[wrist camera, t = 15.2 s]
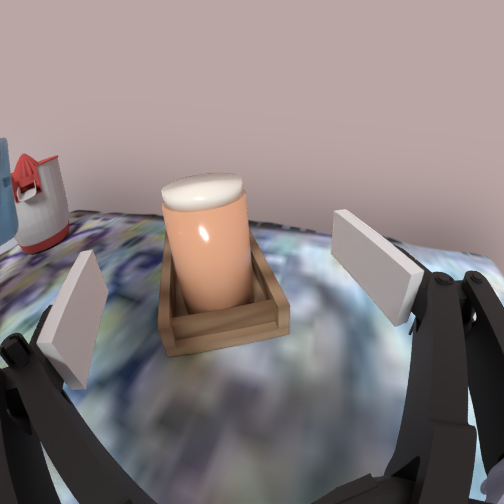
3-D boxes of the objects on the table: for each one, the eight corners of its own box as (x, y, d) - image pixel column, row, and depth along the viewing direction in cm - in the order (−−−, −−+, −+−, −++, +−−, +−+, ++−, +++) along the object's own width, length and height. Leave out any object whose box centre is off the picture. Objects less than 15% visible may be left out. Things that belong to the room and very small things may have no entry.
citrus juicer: (15, 272, 38) (-19, 171, 28) (20, 243, 50) (-2, 165, 40) (82, 242, 46) (56, 139, 36) (73, 220, 58) (55, 141, 48)
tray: (289, 333, 25) (290, 269, 21) (168, 357, 23) (144, 295, 19) (242, 233, 43) (238, 189, 40) (171, 245, 42) (162, 202, 38)
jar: (173, 316, 26) (141, 197, 20) (203, 277, 32) (185, 173, 26) (241, 331, 24) (224, 197, 18) (262, 284, 30) (255, 172, 24)
